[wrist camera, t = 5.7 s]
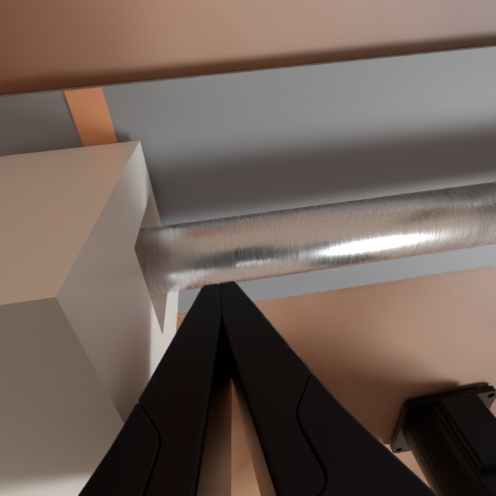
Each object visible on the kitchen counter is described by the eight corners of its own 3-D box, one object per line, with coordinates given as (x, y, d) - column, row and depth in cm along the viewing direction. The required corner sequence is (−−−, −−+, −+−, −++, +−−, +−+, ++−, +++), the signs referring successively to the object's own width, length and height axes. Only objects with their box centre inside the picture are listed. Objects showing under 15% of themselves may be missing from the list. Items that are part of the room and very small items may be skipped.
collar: (139, 140, 10) (55, 297, 4) (178, 291, 13) (165, 499, 7) (1, 156, 10) (-318, 351, 4) (77, 305, 13) (-24, 534, 7)
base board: (702, 24, 11) (730, 23, 10) (575, 244, 16) (590, 251, 15) (-303, 125, 9) (-338, 132, 8) (-89, 344, 14) (-102, 358, 13)
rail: (644, 98, 12) (841, 125, 9) (586, 203, 15) (719, 260, 11) (-204, 199, 10) (-436, 292, 6) (-109, 302, 13) (-236, 414, 9)
